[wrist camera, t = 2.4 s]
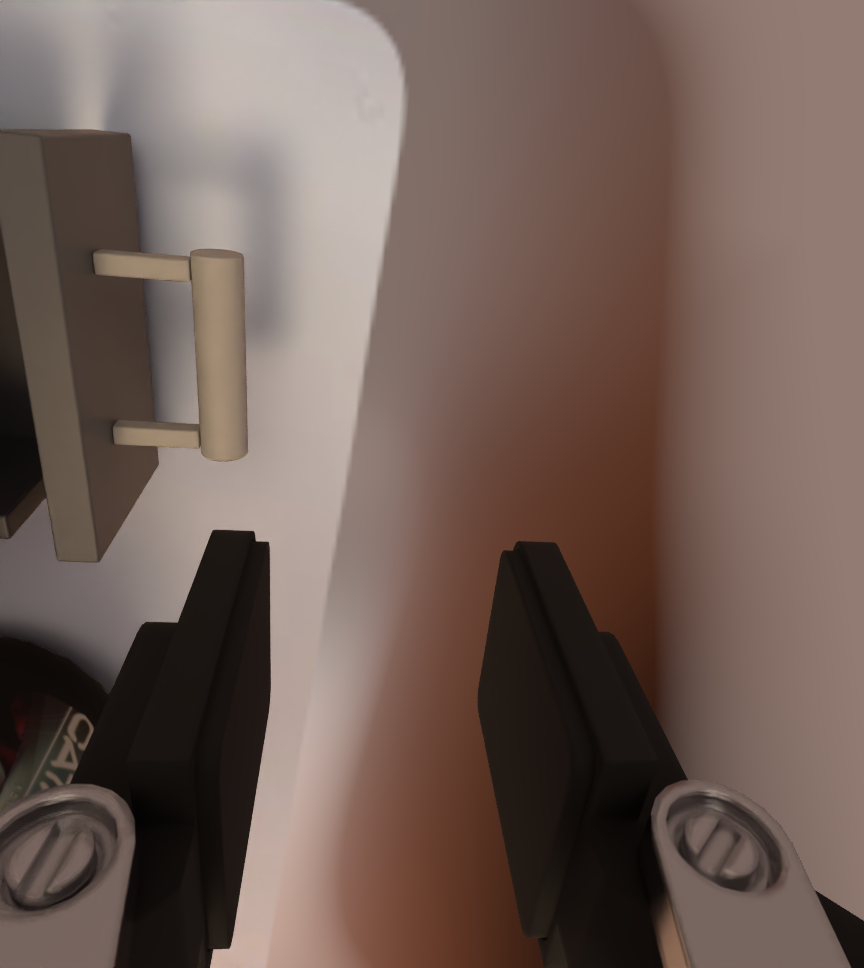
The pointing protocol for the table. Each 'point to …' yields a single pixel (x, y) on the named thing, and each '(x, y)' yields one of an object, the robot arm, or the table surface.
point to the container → (42, 718)
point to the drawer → (97, 340)
